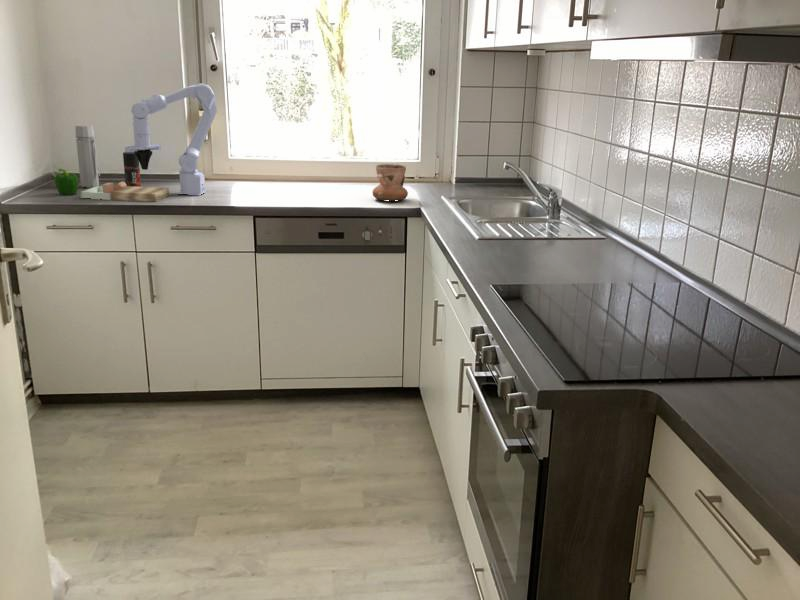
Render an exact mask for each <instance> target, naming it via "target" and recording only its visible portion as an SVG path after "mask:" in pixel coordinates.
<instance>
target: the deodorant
mask: <svg viewBox="0 0 800 600" xmlns="http://www.w3.org/2000/svg"><path fill="white" fill-rule="evenodd" d="M122 155H123V156H122V158H123V168H124V169H123V170H124V182H125V184H126V185H127V186H134V187H142V182H141V169H140V168H141V167H140V162H139V160H138V158H137V156H136V155H135V153H134V152H125V151H124V152H122Z"/></svg>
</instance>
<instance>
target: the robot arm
mask: <svg viewBox="0 0 800 600" xmlns="http://www.w3.org/2000/svg"><path fill="white" fill-rule="evenodd" d="M186 98H190V99H191V98H192V99H197V100H198V101H199V102H200V104H201V107H202V109H203V111H202V113H201V116H200V118H199V120H198V123H197V125H196V127H195V129H194V132H193V134H192V137H191V139H190V141H189V144H188V146H187V147H186V149H185V151H184V152H183V154H182V155H181V156H179V159H178V164H179V166H180V167H181V168H180V169H179V170H178V172H179V187H180V190H179V192H177V193H176V194H177V195H178V194H188V195H187V196H202V195H203V193H204V194H205V193H206V192H207V191H206V181H205V180H206V179H205V174H204V173H203V172H199V170H198V169H197V168H198V159H199V156H200V152H201V149H202V147H203V144H204V143H205V141H206V138H207V135H208V133H209V131H210V128H211V127H212V124H213V122H214V120H215V117H216V115H217V113H218V112H217V111H218V108H217V103H216V95H215V93H214V91H213V89H212V88H211V86H210V85H208V84H205V83H201V82H200V83H197V84H192V85H189V86H186V87H183V88H181V89H178V90H176V91H174V92H171V93H169V94H166V95H162V94H156V93H154V94H152V97H149V98H146V99H143V98H142V99H141V102H140V101H137V102H134V104H132V106H131V109H130V110H131V113H132V121H133V122H132V127H133V137H134V145H129V146H124V152H134V153H135V155H136V156H137V158H138V160H139V166H140V168H141V170H144V171H146V170H149V164H150V159H151V157H152V155H153V151H154V150H157V151H159V150H160V151H161V150H162V149H161V144H158V143H157V144H151V136H150V126H149V125H150V124H149V121H148V120H149V119H148V115H153V114H155V113H156V114H157V112H158V113H159V112H161V111H164V110H166V109H167V107H168V104H172V103H174V102H178V101H180V100H183V99H186ZM201 194H202V195H201Z"/></svg>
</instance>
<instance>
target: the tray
mask: <svg viewBox="0 0 800 600" xmlns="http://www.w3.org/2000/svg"><path fill="white" fill-rule="evenodd" d="M79 196H80V199H81V198H91V199H90V200H100V199H102V200H104V201H105V200H107V201H112V197H111V194H110V193H103V187H102V185H99V186H96V187H93V188H86V189H85V190H81V191H79Z"/></svg>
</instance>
